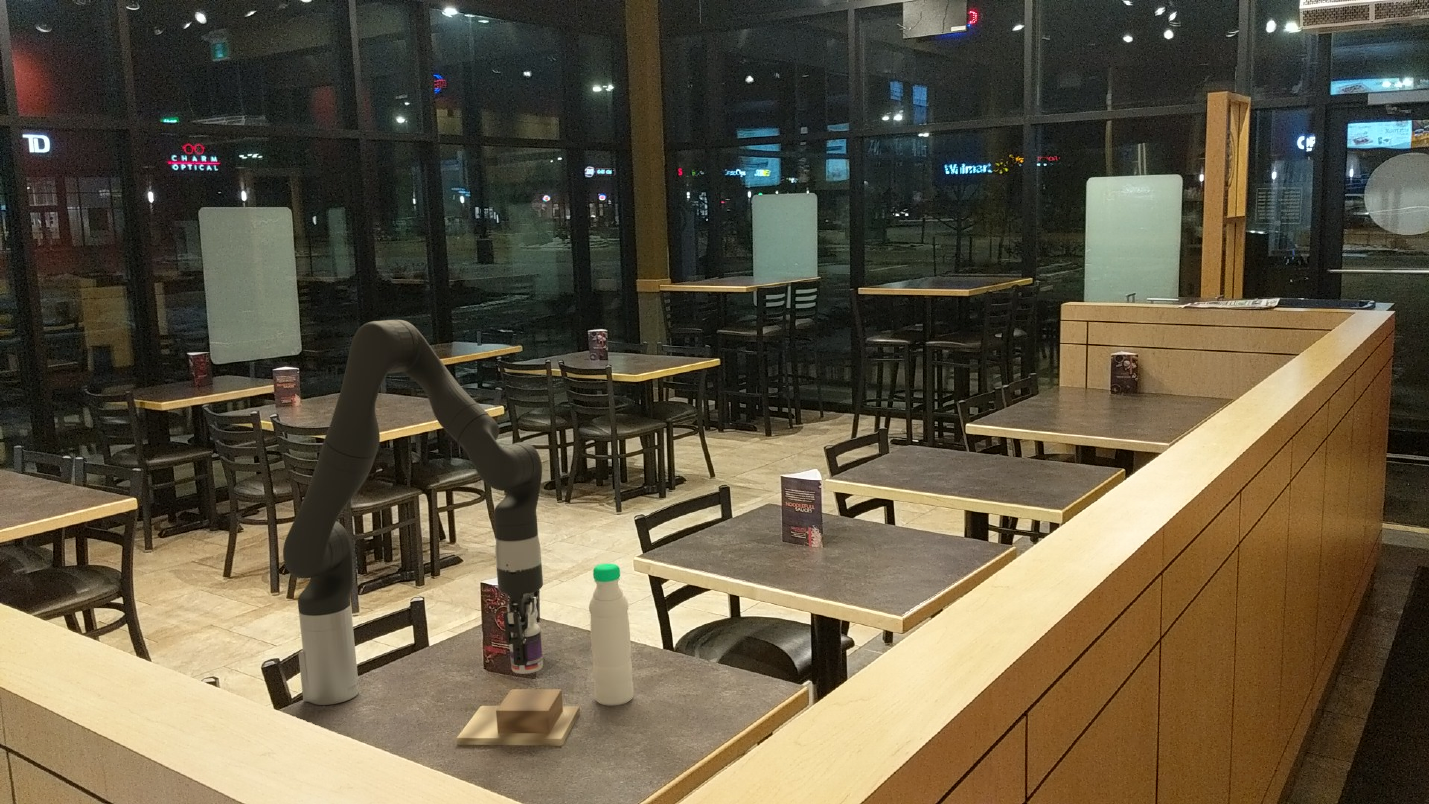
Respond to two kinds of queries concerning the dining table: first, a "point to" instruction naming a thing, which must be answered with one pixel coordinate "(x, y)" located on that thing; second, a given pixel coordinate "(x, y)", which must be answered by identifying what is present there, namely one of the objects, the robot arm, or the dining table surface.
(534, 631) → the pill bottle
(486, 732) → the beech board
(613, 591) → the water bottle
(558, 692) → the walnut block
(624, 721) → the dining table surface
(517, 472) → the robot arm
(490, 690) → the dining table surface
